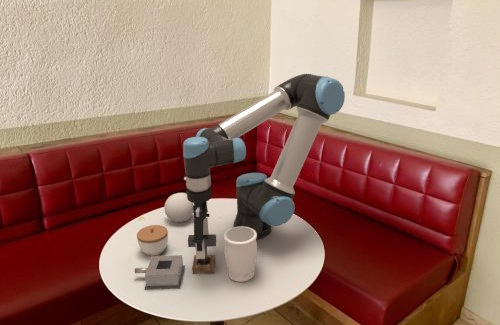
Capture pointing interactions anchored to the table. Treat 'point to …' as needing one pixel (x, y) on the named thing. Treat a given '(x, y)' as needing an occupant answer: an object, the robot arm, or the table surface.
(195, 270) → the key stand
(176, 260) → the square block with stud
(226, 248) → the jar
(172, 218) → the decorative ball
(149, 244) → the lidded jar
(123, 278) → the table surface
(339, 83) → the robot arm
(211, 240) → the bar
